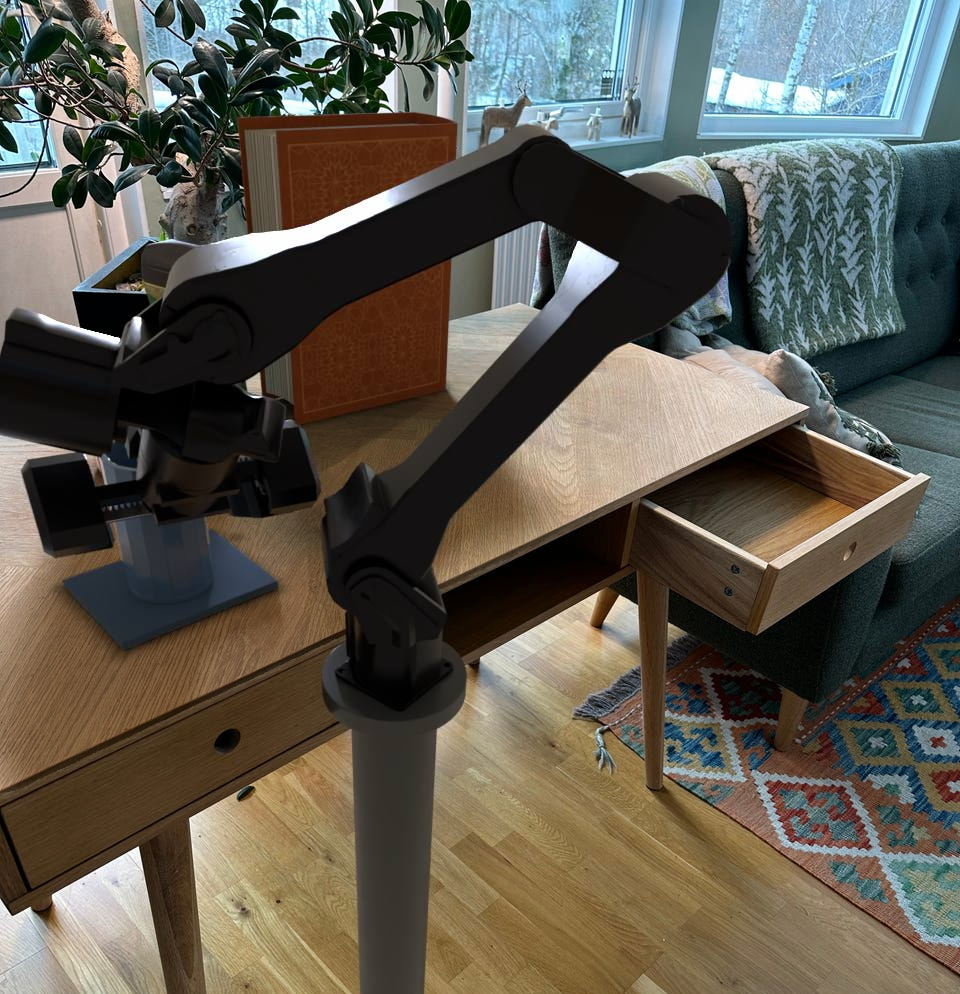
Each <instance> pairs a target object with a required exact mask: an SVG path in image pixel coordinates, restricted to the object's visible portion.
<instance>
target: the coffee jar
mask: <svg viewBox="0 0 960 994" xmlns="http://www.w3.org/2000/svg"><path fill="white" fill-rule="evenodd" d="M200 246H201V245H199V244H198V245H197V244H193V243H189V242H185V241H180V240H176V239H173V238H171V239H166V240H161V241H157V242H153V243H148V244H146V245H145V246H144V248H143V250H142V252H141V256H140V257H141V258H140V263H141V264H140V265H141V281H142V285H143V288H144V291H145V293H146V296H147V299H148V302H149V306H150V305H151V304H152V303H153V302H155V301H156V300H157V299H159V298H160V297H161V296H162V295H164V293H165V289H166V285H167V281H168V277H169V273H170V271H171V269H172V266H173V265H174V264H175V263H176V261H177V260H178V259H179V258H180V257H181V256H183V255H184V254H186V253H187V252H189V251H190V250H191V249H194V248H197V247H200ZM237 385H238V386H240V387H241V388H242V389H244V390H246V391H248V386H247V385H248V384H247V380H246V381H245V382H241V383H237Z"/></svg>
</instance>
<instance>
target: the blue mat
mask: <svg viewBox="0 0 960 994" xmlns="http://www.w3.org/2000/svg"><path fill="white" fill-rule="evenodd" d="M208 531H209V538H210V545H211V552H212V559H213V567H214V570H213V572H214V580H213V583H212V585H211V586H210V587H209V588H208V589H207V590H206V591H205V592H204V593H202V594H201V595H199V596H197V597H195V598H192V599H190V600H187V601H183V602H178V603H171V604H156V603H149V602H146V601H143V600H140V599H138V598H136V597H135V596H133V595H132V594H131V593H130V591H129V589H128V586H127V582H126V580H125V575H124V571H123V566H122V562H121V559H119V560H117V561H114V562H111V563H108V564H105V565H102V566H99V567H96V568H93V569H91V570H88V571H84V572H81V573H79V574H76V575H73V576H70V577H67V578H64V579H62V581H61V582H62V585H63V588H64V589H65V590H66V591H67V592H68V593H69V594H70V595H71V597H73V599H74V600H75V601H76V602H77V603H78V604H79V605H80V606H81V607H82V608H83V609H84V610H85V611H86V613H88V614H89V615H90V616H91V618H92V619H93V620H95V621H96V623H97V624H98V625H99V626H100V627H101V628H102V629H103V631H105V632H106V633H107V635H109V637H110V638H111V639H112V640H113V641H114V642H115V643H116V644H117V645H118V646H119V647H120V648H121V649H122V650H123V651H126V650H129V649H132V648H133V647H136V646H138V645H141V644H144V643H146V642H148V641H151V640H153V639H156V638H159V637H162V636H164V635H166V634H168V633H171V632H173V631H176V630H178V629H181V628H184V627H185V626H188V625H190V624H191V625H192V624H193V623H195V622H199V621H200V620H203V619H205V618H209V617H211V616H213V615H215V614H218V613H220V612H223V611H225V610H228V609H231V608H233V607H235V606H238V605H241V604H243V603H245V602H248V601H250V600H252V599H255V598H258V597H260V596H263V595H265V594H268V593H269V592H273V591H275V590H277V589H279V580H277V578H275V577H274V576H272V575H271V574H270V573H268V572H267V571H266V570H265V569H264V568H262V567H261V566H259V564H257V563H256V562H255V561H253V560H252V559H251V558H249V557H248V556H247V555H246V554H245V553H243V552H242V551H241V550H240V549H239V548H237V547H236V546H235V545H233V544H232V543H230V542H229V541H228V540H227V539H226V538H224V537H223V536H222V535H220V533H219V532H217V531H215V530H214V529H213V528H211V529H208Z"/></svg>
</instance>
